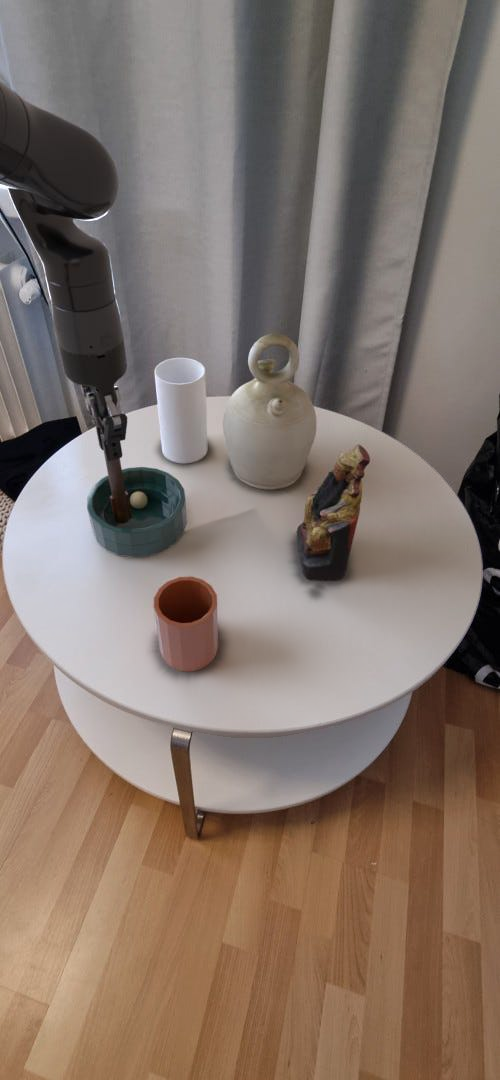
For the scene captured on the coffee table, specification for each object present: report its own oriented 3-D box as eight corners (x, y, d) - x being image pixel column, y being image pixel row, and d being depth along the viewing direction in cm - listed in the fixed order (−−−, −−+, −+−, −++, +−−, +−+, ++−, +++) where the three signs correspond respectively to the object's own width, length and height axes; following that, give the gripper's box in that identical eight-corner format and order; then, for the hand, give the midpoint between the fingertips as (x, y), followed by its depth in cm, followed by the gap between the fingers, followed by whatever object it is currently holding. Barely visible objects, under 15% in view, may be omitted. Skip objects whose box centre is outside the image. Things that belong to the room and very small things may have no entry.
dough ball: (126, 502, 95) (126, 492, 92) (141, 495, 96) (141, 485, 94) (135, 514, 94) (135, 504, 91) (150, 507, 95) (151, 497, 93)
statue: (294, 531, 93) (308, 428, 78) (344, 534, 93) (367, 431, 78) (296, 591, 85) (311, 488, 70) (351, 594, 85) (377, 491, 70)
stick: (116, 525, 89) (98, 428, 76) (112, 517, 91) (94, 420, 77) (133, 520, 90) (118, 424, 77) (129, 512, 91) (113, 416, 78)
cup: (191, 469, 103) (186, 389, 91) (153, 453, 105) (144, 374, 94) (216, 444, 108) (214, 366, 96) (179, 430, 110) (173, 352, 99)
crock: (173, 680, 74) (168, 636, 67) (151, 635, 79) (144, 589, 72) (227, 657, 77) (227, 612, 70) (203, 615, 81) (201, 568, 74)
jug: (231, 436, 109) (232, 306, 91) (313, 446, 108) (331, 316, 90) (215, 490, 99) (212, 356, 81) (306, 502, 98) (324, 368, 80)
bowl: (110, 573, 86) (104, 545, 82) (82, 510, 95) (75, 482, 90) (201, 541, 91) (200, 513, 87) (166, 485, 100) (163, 457, 95)
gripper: (42, 316, 71) (70, 432, 84) (75, 371, 63) (100, 491, 76) (102, 304, 74) (120, 419, 86) (141, 356, 65) (155, 474, 78)
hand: (111, 452), depth 81 cm, fingers closed on stick, 2 cm apart
